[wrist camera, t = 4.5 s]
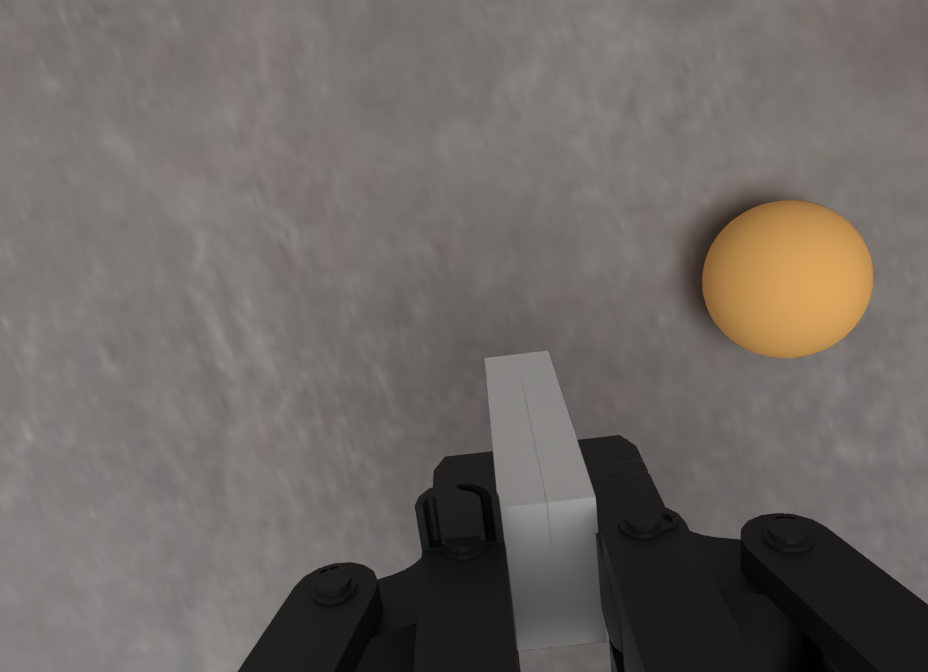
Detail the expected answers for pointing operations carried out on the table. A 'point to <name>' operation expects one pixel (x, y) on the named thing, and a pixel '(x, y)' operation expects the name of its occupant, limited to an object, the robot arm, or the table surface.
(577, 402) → the table surface
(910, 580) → the table surface
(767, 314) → the ball
